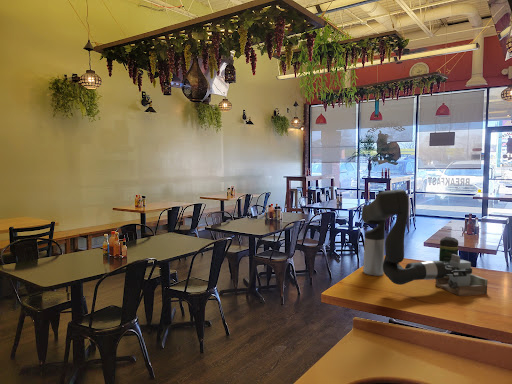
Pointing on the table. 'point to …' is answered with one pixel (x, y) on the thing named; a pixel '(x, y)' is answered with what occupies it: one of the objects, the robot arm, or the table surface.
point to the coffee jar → (448, 249)
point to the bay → (476, 286)
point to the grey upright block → (459, 281)
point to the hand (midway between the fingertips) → (463, 268)
